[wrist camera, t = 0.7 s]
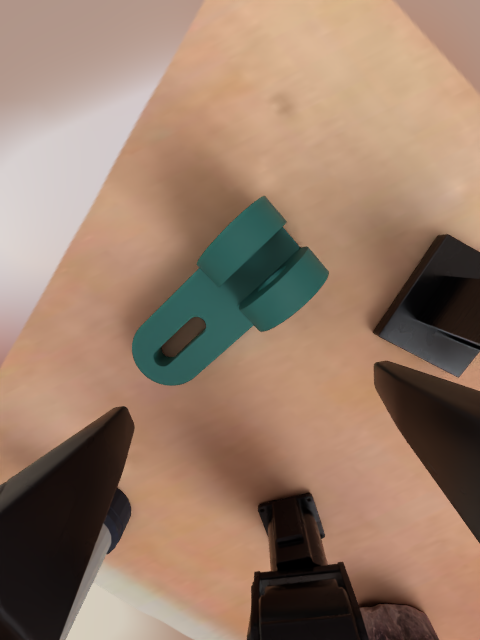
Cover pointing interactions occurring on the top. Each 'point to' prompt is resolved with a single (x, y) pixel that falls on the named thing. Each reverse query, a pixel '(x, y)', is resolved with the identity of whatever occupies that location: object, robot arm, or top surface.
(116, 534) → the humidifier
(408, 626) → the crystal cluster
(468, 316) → the bracket
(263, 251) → the bracket
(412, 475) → the top surface
